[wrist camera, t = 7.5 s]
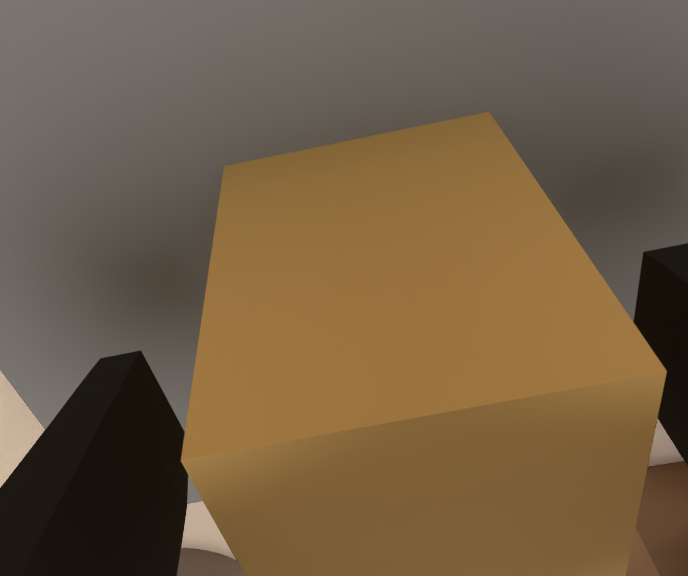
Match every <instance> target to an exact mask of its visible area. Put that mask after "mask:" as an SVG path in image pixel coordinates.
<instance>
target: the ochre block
mask: <svg viewBox="0 0 688 576" xmlns="http://www.w3.org/2000/svg"><path fill="white" fill-rule="evenodd" d="M666 373H667V371H666V369H665V368H664V366H663V365H662V363H661V362H660V360H659V359H658V358H657V356H656V355H655V353H654V352H653V350H652V349H651V347H650V346H649V344H648V343H647V341H646V340H645V339H644V337H643V336H642V334H641V333H640V331H639V330H638V328H637V327H636V325H635V324H634V323H633V321H632V320H631V318H630V317H629V315H628V314H627V312H626V311H625V309H624V308H623V306H622V305H621V304H620V302H619V301H618V299H617V298H616V296H615V295H614V293H613V292H612V290H611V289H610V287H609V286H608V285H607V283H606V282H605V280H604V279H603V277H602V276H601V274H600V273H599V271H598V270H597V269H596V267H595V266H594V264H593V263H592V261H591V260H590V258H589V257H588V255H587V254H586V252H585V251H584V250H583V248H582V247H581V245H580V244H579V242H578V241H577V239H576V238H575V236H574V235H573V233H572V232H571V231H570V229H569V228H568V226H567V225H566V223H565V222H564V220H563V219H562V217H561V216H560V215H559V213H558V212H557V210H556V209H555V207H554V206H553V204H552V203H551V201H550V200H549V198H548V197H547V196H546V194H545V193H544V191H543V190H542V188H541V187H540V185H539V184H538V182H537V181H536V179H535V178H534V177H533V175H532V174H531V172H530V171H529V169H528V168H527V166H526V165H525V163H524V162H523V161H522V159H521V158H520V156H519V155H518V153H517V152H516V150H515V149H514V147H513V146H512V144H511V143H510V142H509V140H508V139H507V137H506V136H505V134H504V133H503V131H502V130H501V128H500V127H499V125H498V124H497V123H496V121H495V120H494V118H493V117H492V115H491V114H490V112H485V113H480V114H476V115H471V116H466V117H461V118H456V119H451V120H446V121H441V122H437V123H432V124H427V125H422V126H417V127H412V128H407V129H402V130H397V131H393V132H388V133H383V134H378V135H373V136H368V137H363V138H358V139H354V140H349V141H344V142H339V143H334V144H329V145H324V146H319V147H315V148H310V149H305V150H300V151H295V152H290V153H285V154H280V155H276V156H271V157H266V158H261V159H256V160H251V161H246V162H241V163H236V164H232V165H227V166H224V170H223V177H222V184H221V190H220V197H219V204H218V211H217V218H216V224H215V231H214V238H213V245H212V252H211V258H210V265H209V272H208V279H207V285H206V292H205V299H204V306H203V313H202V319H201V326H200V333H199V340H198V347H197V353H196V360H195V367H194V374H193V381H192V387H191V394H190V401H189V408H188V415H187V421H186V428H185V435H184V442H183V448H182V455H181V462H182V464H183V466H184V468H185V470H186V471H187V473H188V475H189V477H190V478H191V480H192V482H193V484H194V486H195V487H196V489H197V491H198V493H199V494H200V496H201V498H202V500H203V502H204V503H205V505H206V507H207V509H208V511H209V512H210V514H211V516H212V518H213V519H214V521H215V523H216V525H217V527H218V528H219V530H220V532H221V534H222V535H223V537H224V539H225V541H226V543H227V544H228V546H229V548H230V550H231V552H232V553H233V555H234V557H235V559H236V560H237V562H238V564H239V566H240V568H241V569H242V571H243V573H244V575H245V576H626V571H627V566H628V561H629V556H630V551H631V546H632V542H633V537H634V532H635V527H636V522H637V517H638V512H639V507H640V502H641V497H642V492H643V487H644V482H645V477H646V472H647V467H648V462H649V457H650V452H651V447H652V443H653V438H654V433H655V428H656V423H657V418H658V413H659V408H660V403H661V398H662V393H663V388H664V383H665V378H666Z"/></svg>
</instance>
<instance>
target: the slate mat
mask: <svg viewBox="0 0 688 576" xmlns="http://www.w3.org/2000/svg"><path fill="white" fill-rule="evenodd" d="M485 112H490V114H491V115H492V117H493V118H494V120H495V121H496V123H497V124H498V125H499V127H500V128H501V130H502V131H503V133H504V134H505V136H506V137H507V139H508V140H509V142H510V143H511V144H512V146H513V147H514V149H515V150H516V152H517V153H518V155H519V156H520V158H521V159H522V161H523V162H524V163H525V165H526V166H527V168H528V169H529V171H530V172H531V174H532V175H533V177H534V178H535V179H536V181H537V182H538V184H539V185H540V187H541V188H542V190H543V191H544V193H545V194H546V196H547V197H548V198H549V200H550V201H551V203H552V204H553V206H554V207H555V209H556V210H557V212H558V213H559V215H560V216H561V217H562V219H563V220H564V222H565V223H566V225H567V226H568V228H569V229H570V231H571V232H572V233H573V235H574V236H575V238H576V239H577V241H578V242H579V244H580V245H581V247H582V248H583V250H584V251H585V252H586V254H587V255H588V257H589V258H590V260H591V261H592V263H593V264H594V266H595V267H596V269H597V270H598V271H599V273H600V274H601V276H602V277H603V279H604V280H605V282H606V283H607V285H608V286H609V287H610V289H611V290H612V292H613V293H614V295H615V296H616V298H617V299H618V301H619V302H620V304H621V305H622V306H623V308H624V309H625V311H626V312H627V314H628V315H629V317H630V318H631V320H632V321H633V322H634V315H635V307H636V300H637V293H638V286H639V279H640V272H641V264H642V257H643V252H645V251H650V250H655V249H660V248H666V247H671V246H676V245H681V244H686V243H688V0H0V370H1V371H2V373H3V374H4V375H5V377H6V378H7V379H8V381H9V382H10V383H11V385H12V386H13V387H14V389H15V390H16V391H17V393H18V394H19V395H20V397H21V398H22V399H23V401H24V402H25V403H26V405H27V406H28V407H29V409H30V410H31V411H32V413H33V414H34V415H35V417H36V418H37V419H38V421H39V422H40V423H41V425H42V426H43V427H44V429H45V430H46V428H47V427H48V426H49V424H50V423H51V422H52V420H53V419H54V418H55V416H56V415H57V414H58V412H59V411H60V410H61V408H62V407H63V406H64V404H65V403H66V402H67V400H68V399H69V398H70V396H71V395H72V394H73V393H74V391H75V390H76V389H77V387H78V386H79V385H80V383H81V382H82V381H83V379H84V378H85V377H86V376H87V374H88V373H89V372H90V370H91V369H92V368H93V367H94V366H95V364H96V363H97V362H98V361H99V359H100V358H105V357H110V356H115V355H120V354H125V353H130V352H135V351H140V350H141V351H142V353H143V355H144V357H145V359H146V361H147V362H148V364H149V366H150V368H151V370H152V372H153V374H154V376H155V377H156V379H157V381H158V383H159V385H160V387H161V389H162V390H163V392H164V394H165V396H166V398H167V400H168V402H169V404H170V405H171V407H172V409H173V411H174V413H175V415H176V417H177V418H178V420H179V422H180V424H181V426H182V428H183V430H184V431H185V428H186V421H187V415H188V408H189V401H190V394H191V387H192V381H193V374H194V367H195V360H196V353H197V347H198V340H199V333H200V326H201V319H202V313H203V306H204V299H205V292H206V285H207V279H208V272H209V265H210V258H211V252H212V245H213V238H214V231H215V224H216V218H217V211H218V204H219V197H220V190H221V184H222V177H223V170H224V166H227V165H232V164H236V163H241V162H246V161H251V160H256V159H261V158H266V157H271V156H276V155H280V154H285V153H290V152H295V151H300V150H305V149H310V148H315V147H319V146H324V145H329V144H334V143H339V142H344V141H349V140H354V139H358V138H363V137H368V136H373V135H378V134H383V133H388V132H393V131H397V130H402V129H407V128H412V127H417V126H422V125H427V124H432V123H437V122H441V121H446V120H451V119H456V118H461V117H466V116H471V115H476V114H480V113H485ZM200 501H203V500H202V498H201V496H200V494H199V493H198V491H197V489H196V487H195V486H194V484H193V482H192V480H191V478H190V477H189V475H188V497H187V504H189V503H194V502H200Z"/></svg>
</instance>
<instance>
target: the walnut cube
mask: <svg viewBox="0 0 688 576" xmlns="http://www.w3.org/2000/svg"><path fill="white" fill-rule="evenodd" d="M626 576H688V465H687V464H686V462H685V461H682V462H676V463H669V464H663V465H657V466H650V467H647V472H646V477H645V482H644V487H643V492H642V497H641V502H640V507H639V512H638V517H637V522H636V527H635V532H634V537H633V542H632V546H631V551H630V556H629V561H628V566H627V571H626Z"/></svg>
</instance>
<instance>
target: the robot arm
mask: <svg viewBox="0 0 688 576" xmlns="http://www.w3.org/2000/svg"><path fill="white" fill-rule="evenodd" d="M633 323H634V324H635V325H636V327H637V328H638V330H639V331H640V333H641V334H642V336H643V337H644V339H645V340H646V341H647V343H648V344H649V346H650V347H651V349H652V350H653V352H654V353H655V355H656V356H657V358H658V359H659V360H660V362H661V363H662V365H663V366H664V368H665V369H666V371H667V373H666V378H665V383H664V388H663V393H662V398H661V403H660V408H659V413H658V419H659V421H660V423H661V424H662V426H663V427H664V429H665V431H666V432H667V434H668V435H669V437H670V439H671V440H672V442H673V443H674V445H675V446H676V448H677V450H678V451H679V453H680V454H681V456H682V457H683V459H684V461H685V462H686V464H687V465H688V243H686V244H681V245H676V246H671V247H666V248H660V249H655V250H650V251H645V252H643V257H642V264H641V272H640V279H639V286H638V293H637V300H636V307H635V315H634V322H633ZM184 435H185V431H184V430H183V428H182V426H181V424H180V422H179V420H178V418H177V417H176V415H175V413H174V411H173V409H172V407H171V405H170V404H169V402H168V400H167V398H166V396H165V394H164V392H163V390H162V389H161V387H160V385H159V383H158V381H157V379H156V377H155V376H154V374H153V372H152V370H151V368H150V366H149V364H148V362H147V361H146V359H145V357H144V355H143V353H142V351H141V350H140V351H135V352H130V353H125V354H120V355H115V356H110V357H105V358H100V359H99V361H98V362H97V363H96V364H95V366H94V367H93V368H92V369H91V370H90V372H89V373H88V374H87V376H86V377H85V378H84V379H83V381H82V382H81V383H80V385H79V386H78V387H77V389H76V390H75V391H74V393H73V394H72V395H71V396H70V398H69V399H68V400H67V402H66V403H65V404H64V406H63V407H62V408H61V410H60V411H59V412H58V414H57V415H56V416H55V418H54V419H53V420H52V422H51V423H50V424H49V426H48V427H47V428H46V430H45V431H44V432H43V434H42V435H41V436H40V438H39V439H38V440H37V441H36V443H35V444H34V445H33V447H32V448H31V449H30V450H29V452H28V453H27V454H26V456H25V457H24V458H23V460H22V461H21V462H20V463H19V465H18V466H17V467H16V469H15V470H14V471H13V472H12V474H11V475H10V476H9V478H8V479H7V480H6V482H5V483H4V484H3V485H2V487H1V488H0V576H177V571H178V564H179V558H180V551H181V544H182V538H183V531H184V524H185V517H186V509H187V497H188V473H187V471H186V470H185V468H184V466H183V464H182V462H181V455H182V448H183V442H184Z"/></svg>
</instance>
